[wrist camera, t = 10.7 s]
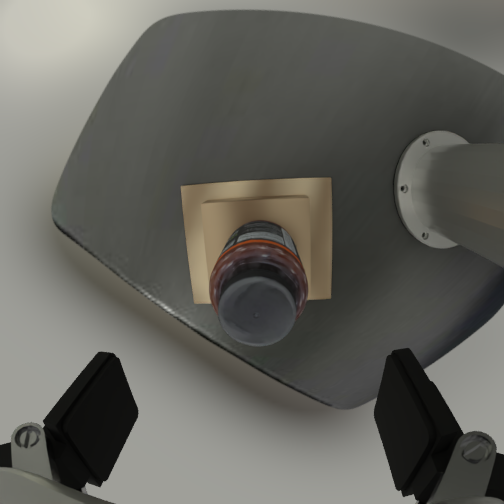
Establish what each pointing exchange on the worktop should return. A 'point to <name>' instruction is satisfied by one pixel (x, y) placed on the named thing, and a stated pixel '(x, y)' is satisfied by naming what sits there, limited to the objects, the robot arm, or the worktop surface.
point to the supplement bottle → (258, 284)
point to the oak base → (260, 188)
